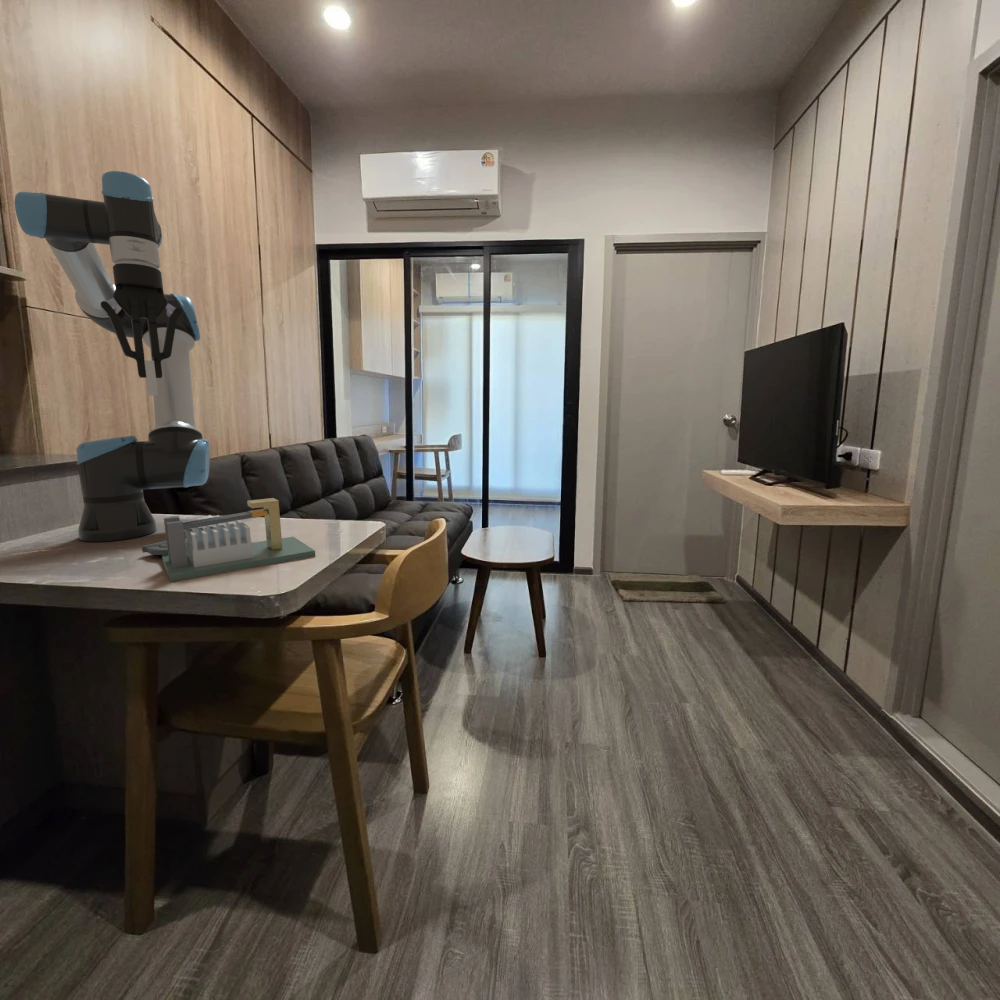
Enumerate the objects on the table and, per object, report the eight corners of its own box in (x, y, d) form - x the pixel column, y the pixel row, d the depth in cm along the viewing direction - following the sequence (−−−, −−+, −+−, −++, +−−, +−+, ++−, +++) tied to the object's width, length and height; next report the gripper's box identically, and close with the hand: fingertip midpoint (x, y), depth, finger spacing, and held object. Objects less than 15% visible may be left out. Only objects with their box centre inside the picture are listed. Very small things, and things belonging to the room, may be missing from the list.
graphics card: (208, 525, 121) (242, 528, 116) (211, 540, 122) (244, 545, 116) (130, 542, 107) (164, 547, 101) (133, 559, 107) (167, 566, 102)
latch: (251, 548, 106) (247, 500, 105) (277, 544, 109) (273, 497, 108) (256, 552, 103) (251, 503, 102) (282, 548, 106) (278, 500, 105)
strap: (169, 530, 97) (167, 523, 97) (263, 514, 107) (262, 507, 106) (171, 533, 94) (169, 526, 94) (267, 516, 104) (266, 509, 104)
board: (162, 562, 102) (156, 514, 100) (293, 541, 117) (290, 500, 115) (170, 581, 90) (164, 528, 88) (315, 556, 105) (312, 510, 103)
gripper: (93, 256, 90) (112, 394, 94) (180, 268, 98) (194, 395, 102) (93, 265, 96) (110, 395, 100) (175, 276, 104) (188, 396, 108)
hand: (152, 395), depth 101 cm, fingers closed
